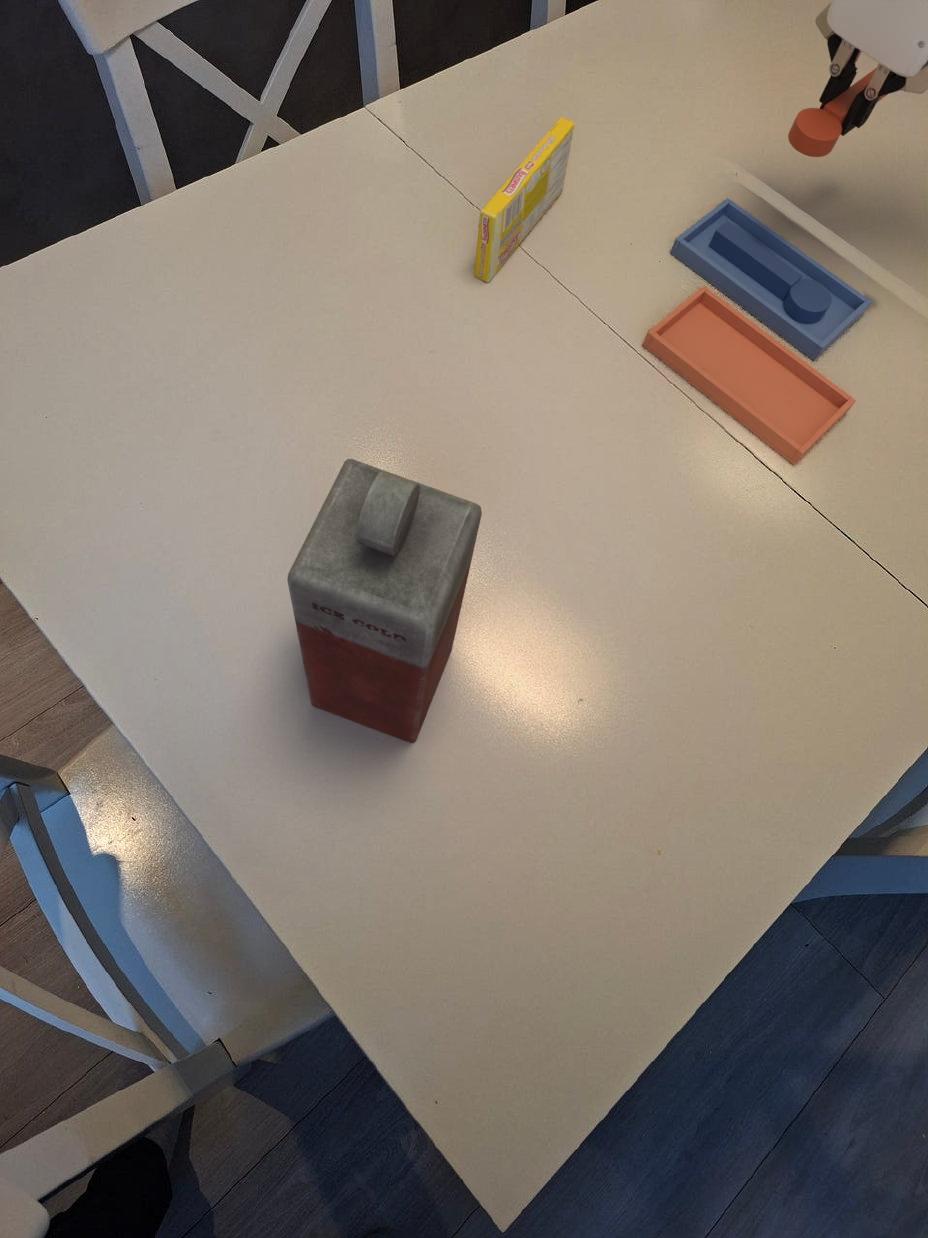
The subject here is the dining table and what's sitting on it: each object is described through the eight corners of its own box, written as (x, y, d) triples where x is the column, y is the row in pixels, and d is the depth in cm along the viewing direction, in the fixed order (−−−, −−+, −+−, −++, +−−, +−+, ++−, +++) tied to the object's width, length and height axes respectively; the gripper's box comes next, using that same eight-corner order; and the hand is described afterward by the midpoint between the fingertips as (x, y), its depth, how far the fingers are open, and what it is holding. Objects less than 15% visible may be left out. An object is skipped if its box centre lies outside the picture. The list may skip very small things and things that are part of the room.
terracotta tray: (846, 412, 88) (856, 400, 86) (793, 465, 85) (803, 453, 83) (697, 299, 92) (703, 284, 91) (641, 345, 89) (647, 331, 87)
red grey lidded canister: (327, 601, 75) (305, 388, 49) (452, 647, 74) (495, 455, 49) (283, 695, 71) (233, 517, 46) (414, 744, 71) (438, 592, 45)
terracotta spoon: (862, 76, 89) (873, 55, 87) (897, 100, 88) (910, 79, 86) (778, 137, 84) (788, 116, 82) (815, 163, 83) (826, 142, 81)
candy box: (546, 183, 97) (560, 113, 90) (563, 192, 97) (579, 123, 89) (470, 275, 91) (479, 208, 83) (488, 284, 91) (499, 218, 83)
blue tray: (862, 315, 94) (872, 301, 92) (813, 361, 91) (822, 348, 89) (721, 212, 98) (727, 197, 96) (669, 252, 95) (675, 237, 93)
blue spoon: (701, 251, 95) (708, 235, 93) (726, 231, 96) (733, 215, 94) (808, 330, 91) (818, 315, 89) (832, 309, 93) (842, 293, 91)
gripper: (1059, -61, 69) (925, 149, 86) (892, -160, 72) (795, 61, 89) (1010, -26, 66) (882, 184, 83) (840, -129, 70) (750, 92, 87)
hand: (838, 119), depth 86 cm, fingers closed on terracotta spoon, 2 cm apart
